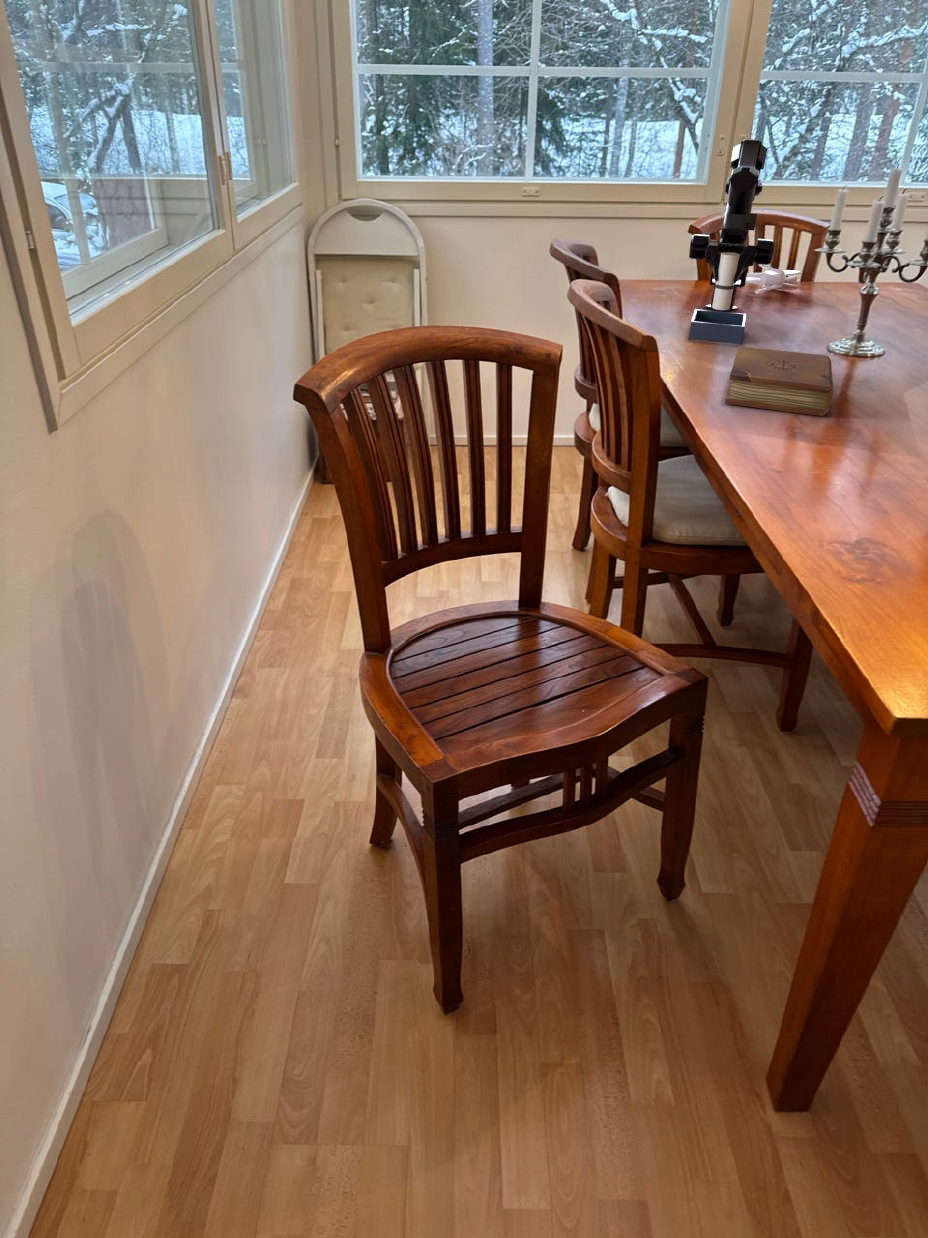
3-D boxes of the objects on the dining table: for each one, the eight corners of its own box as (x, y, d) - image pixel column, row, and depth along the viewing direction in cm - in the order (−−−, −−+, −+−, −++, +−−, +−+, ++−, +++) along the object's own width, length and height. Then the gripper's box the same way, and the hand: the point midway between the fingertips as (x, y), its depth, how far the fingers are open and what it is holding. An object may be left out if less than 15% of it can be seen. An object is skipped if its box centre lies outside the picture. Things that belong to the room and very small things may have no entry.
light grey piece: (718, 305, 208) (727, 251, 202) (733, 308, 206) (743, 254, 199) (708, 307, 206) (717, 253, 199) (723, 311, 203) (733, 256, 197)
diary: (826, 417, 164) (834, 387, 160) (724, 404, 168) (730, 374, 165) (825, 382, 182) (832, 354, 179) (733, 372, 187) (738, 344, 184)
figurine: (728, 261, 252) (801, 263, 245) (732, 263, 262) (803, 264, 255) (724, 293, 255) (796, 295, 248) (728, 293, 265) (798, 295, 258)
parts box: (691, 328, 218) (695, 309, 215) (742, 333, 215) (746, 313, 213) (687, 341, 207) (691, 321, 205) (740, 346, 204) (744, 326, 202)
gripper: (698, 195, 199) (686, 255, 196) (783, 201, 194) (772, 262, 191) (694, 228, 209) (683, 285, 206) (775, 234, 205) (765, 292, 202)
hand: (725, 281), depth 201 cm, fingers closed on light grey piece, 4 cm apart
